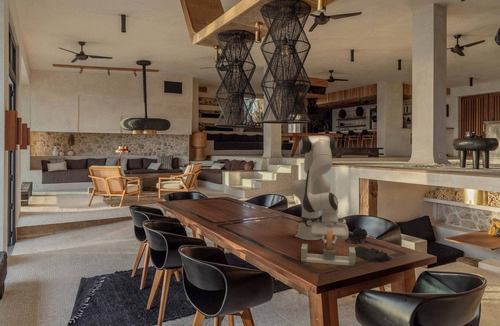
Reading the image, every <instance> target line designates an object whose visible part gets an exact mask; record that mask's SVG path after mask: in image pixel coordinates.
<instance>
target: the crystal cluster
mask: <svg viewBox="0 0 500 326" xmlns="http://www.w3.org/2000/svg"><path fill="white" fill-rule="evenodd" d="M367 235H368V232H367V229H365V228H361V227H359V226H358V227H356V228H355V229H353V231H352V232H349V237H348V239H345V242H348V243H350V244H364V243H365V241H366V239H367Z"/></svg>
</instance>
